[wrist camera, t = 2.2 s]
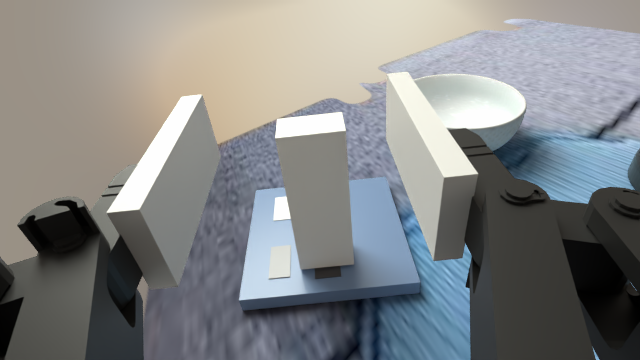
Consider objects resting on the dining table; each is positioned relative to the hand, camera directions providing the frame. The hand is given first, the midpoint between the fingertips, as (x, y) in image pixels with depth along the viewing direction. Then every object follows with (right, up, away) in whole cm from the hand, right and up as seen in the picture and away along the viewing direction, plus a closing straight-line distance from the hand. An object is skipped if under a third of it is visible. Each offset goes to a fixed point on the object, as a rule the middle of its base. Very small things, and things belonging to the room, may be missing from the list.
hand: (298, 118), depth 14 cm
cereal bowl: (+20, +3, +39) cm, 44 cm away
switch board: (+1, -9, +25) cm, 27 cm away
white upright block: (+1, -10, +21) cm, 23 cm away
